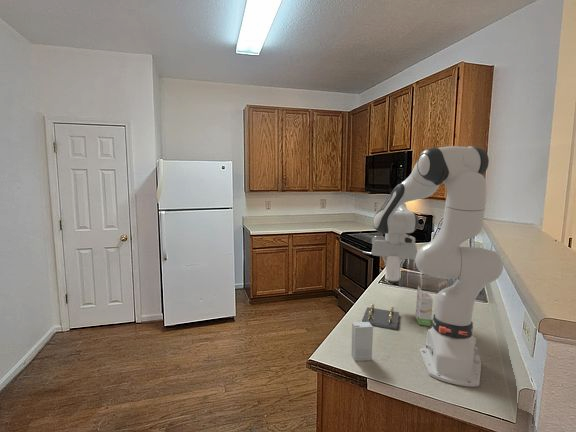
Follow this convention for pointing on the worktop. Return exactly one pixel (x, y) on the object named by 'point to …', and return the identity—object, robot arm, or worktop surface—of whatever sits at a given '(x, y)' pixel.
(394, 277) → the can
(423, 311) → the ink box
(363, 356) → the skincare box
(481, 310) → the worktop surface
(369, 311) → the plate
